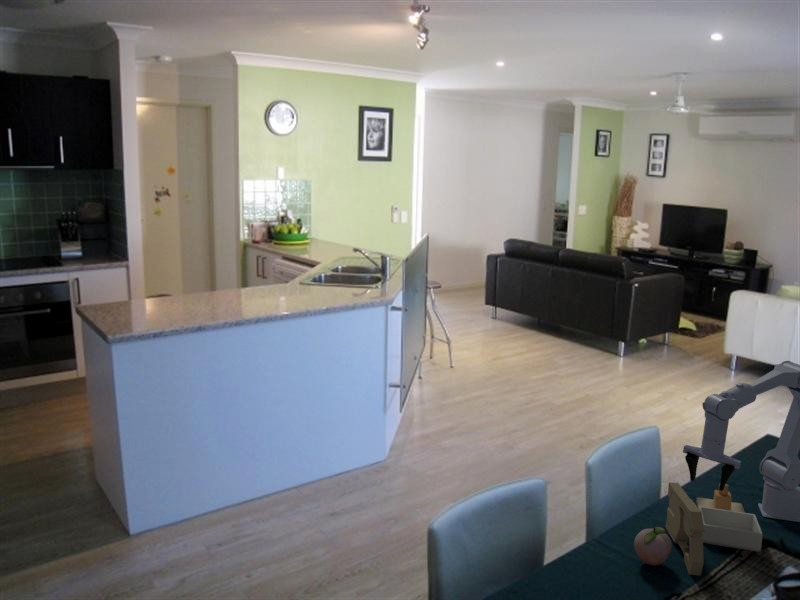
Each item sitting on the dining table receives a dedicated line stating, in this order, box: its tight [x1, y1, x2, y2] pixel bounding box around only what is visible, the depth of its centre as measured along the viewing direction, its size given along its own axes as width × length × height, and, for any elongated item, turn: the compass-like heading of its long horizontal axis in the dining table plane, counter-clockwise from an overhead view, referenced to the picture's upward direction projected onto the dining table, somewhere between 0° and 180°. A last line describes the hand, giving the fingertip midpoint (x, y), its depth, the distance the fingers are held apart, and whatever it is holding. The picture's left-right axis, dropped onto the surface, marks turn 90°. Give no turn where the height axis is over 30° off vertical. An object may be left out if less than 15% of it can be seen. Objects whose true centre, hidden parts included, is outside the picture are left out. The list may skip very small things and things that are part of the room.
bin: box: [698, 506, 764, 553], centre depth 175 cm, size 14×11×5 cm
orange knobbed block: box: [713, 483, 733, 511], centre depth 187 cm, size 4×4×8 cm
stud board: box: [695, 496, 746, 513], centre depth 188 cm, size 12×12×5 cm
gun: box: [664, 481, 704, 576], centre depth 168 cm, size 24×3×15 cm, turn 171°
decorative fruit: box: [633, 526, 673, 567], centre depth 162 cm, size 9×8×10 cm
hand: (706, 484), depth 182 cm, fingers open, 7 cm apart
